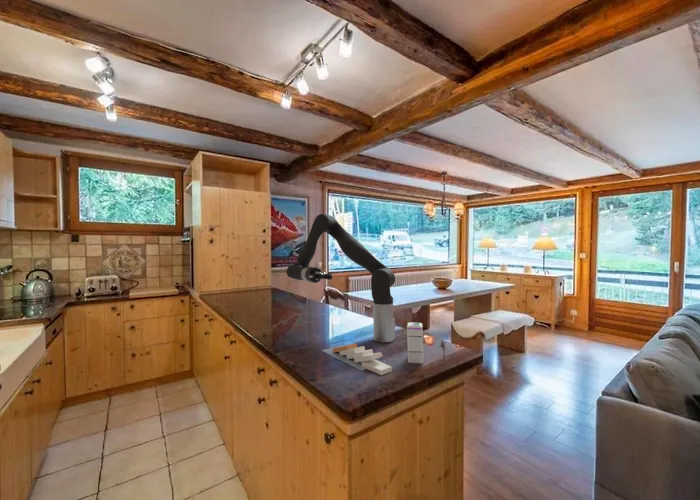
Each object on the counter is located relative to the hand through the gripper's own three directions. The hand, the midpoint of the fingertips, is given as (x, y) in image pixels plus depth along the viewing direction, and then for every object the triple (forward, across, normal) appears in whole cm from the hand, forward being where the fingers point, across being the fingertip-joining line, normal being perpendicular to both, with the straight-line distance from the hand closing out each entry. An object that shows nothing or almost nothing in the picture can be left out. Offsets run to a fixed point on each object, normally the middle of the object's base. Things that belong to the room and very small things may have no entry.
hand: (330, 277), depth 137 cm
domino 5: (+31, -5, +28) cm, 42 cm away
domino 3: (+22, -5, +28) cm, 36 cm away
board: (+21, -5, +30) cm, 37 cm away
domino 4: (+27, -5, +28) cm, 39 cm away
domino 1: (+13, -5, +28) cm, 31 cm away
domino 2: (+18, -5, +28) cm, 34 cm away
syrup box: (+39, +12, +30) cm, 51 cm away
